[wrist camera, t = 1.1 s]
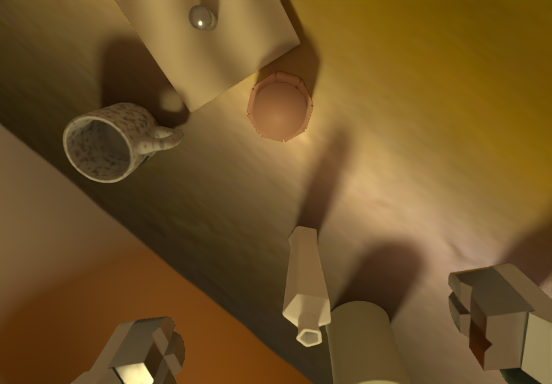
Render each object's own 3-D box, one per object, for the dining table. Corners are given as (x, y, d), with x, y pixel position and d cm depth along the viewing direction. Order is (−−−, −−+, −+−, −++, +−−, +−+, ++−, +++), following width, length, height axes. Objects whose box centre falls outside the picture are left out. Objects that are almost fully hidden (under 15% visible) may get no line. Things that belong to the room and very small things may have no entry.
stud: (210, 4, 28) (201, 0, 25) (221, 24, 29) (214, 21, 26) (194, 16, 29) (184, 13, 26) (205, 35, 29) (196, 34, 27)
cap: (292, 61, 31) (292, 63, 27) (319, 114, 33) (323, 123, 29) (241, 92, 32) (234, 99, 28) (270, 141, 35) (268, 153, 30)
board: (232, -94, 26) (230, -100, 25) (300, 43, 30) (300, 43, 29) (119, -2, 29) (112, -4, 28) (194, 110, 34) (190, 112, 32)
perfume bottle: (283, 224, 39) (278, 319, 26) (318, 221, 39) (332, 316, 25) (287, 254, 41) (284, 357, 27) (320, 251, 41) (335, 355, 27)
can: (317, 338, 47) (325, 425, 37) (336, 294, 44) (351, 376, 33) (375, 351, 48) (399, 440, 37) (399, 308, 44) (434, 393, 33)
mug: (111, 160, 37) (75, 183, 31) (95, 103, 34) (52, 115, 28) (194, 159, 36) (175, 181, 30) (185, 99, 33) (161, 111, 27)
